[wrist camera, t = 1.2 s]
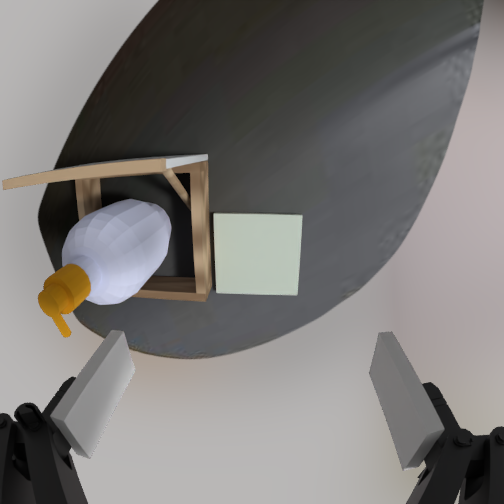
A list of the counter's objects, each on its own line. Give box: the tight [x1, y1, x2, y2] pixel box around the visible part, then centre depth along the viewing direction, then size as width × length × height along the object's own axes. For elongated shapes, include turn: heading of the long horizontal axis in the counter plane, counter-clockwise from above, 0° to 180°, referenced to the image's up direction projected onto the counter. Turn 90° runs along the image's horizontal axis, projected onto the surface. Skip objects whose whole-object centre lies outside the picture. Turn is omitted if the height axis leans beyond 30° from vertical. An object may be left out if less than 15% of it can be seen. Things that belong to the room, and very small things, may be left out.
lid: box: [2, 154, 208, 190], centre depth 30 cm, size 1×19×19 cm, turn 90°
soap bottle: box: [38, 199, 172, 337], centre depth 31 cm, size 10×10×24 cm
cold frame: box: [75, 161, 212, 301], centre depth 37 cm, size 19×18×12 cm
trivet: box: [214, 212, 302, 295], centre depth 43 cm, size 12×12×1 cm
